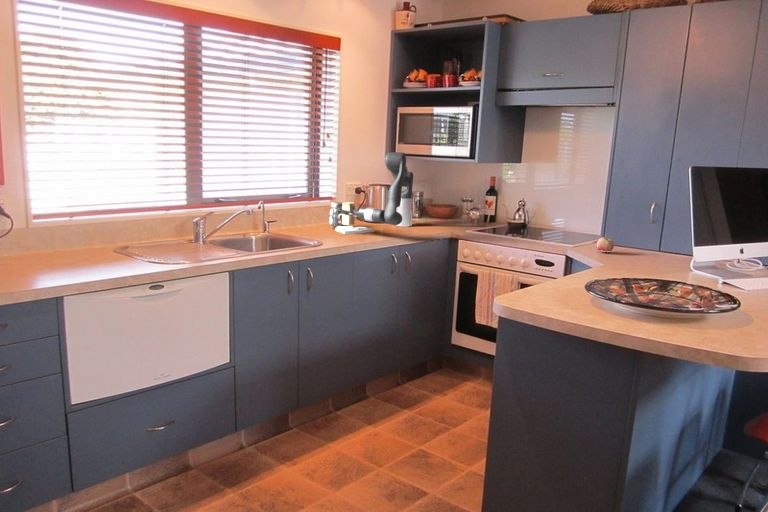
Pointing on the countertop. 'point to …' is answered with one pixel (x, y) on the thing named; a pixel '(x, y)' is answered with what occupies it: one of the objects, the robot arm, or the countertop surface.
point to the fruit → (605, 244)
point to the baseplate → (353, 230)
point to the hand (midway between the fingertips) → (344, 211)
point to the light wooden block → (345, 218)
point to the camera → (336, 215)
